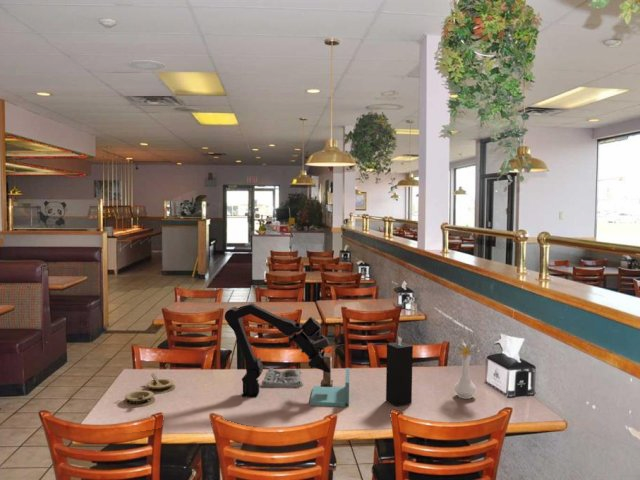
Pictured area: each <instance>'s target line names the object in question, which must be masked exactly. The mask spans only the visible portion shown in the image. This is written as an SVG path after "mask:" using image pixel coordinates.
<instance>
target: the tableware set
mask: <svg viewBox="0 0 640 480" xmlns="http://www.w3.org/2000/svg"><path fill="white" fill-rule="evenodd" d="M151 377H152V380H150V381H148V382H147V383H146V386H145V387H144V390H135V391H131V392H128V393H126V394H125V395H124V399H123V400H120V399H119V400H118V399H117V400H116V401H115V402H113V404H118V403H120V402H121V401H122V402H121V404H122V405H123V406H124V407H127V408H143V407H148V406H149V405H153V404H155V402H156V397H155V396H154V395H157V394H166V393H170V392H173V391H174V390H175V389H176V385H174V381H173V380H172V379H169V378H158V377H157V374H156V373H153V372H152V373H151Z"/></svg>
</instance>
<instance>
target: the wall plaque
mask: <svg viewBox="0 0 640 480" xmlns="http://www.w3.org/2000/svg"><path fill="white" fill-rule="evenodd" d="M301 375H302V371H301V369H300V368H296V369H295V368H294V369H293V368H292V369H291V368H290V369H285V370H282V371H281V370H278V369H274V368H272V367H271V368H268V369H267V372H266V374H265V376H264V379H263V380H262V381H261V387H263V388H275V387H277V388H279V389H280V388H282V389H283V388H285V389H286V388H287V389H291V388H292V389H294V388H295V387H296V388H295V389H299V388H298V387H300V388H303V387H304V383H303V381H302V380H301ZM302 386H303V387H302Z"/></svg>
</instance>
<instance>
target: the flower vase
mask: <svg viewBox="0 0 640 480" xmlns="http://www.w3.org/2000/svg"><path fill="white" fill-rule="evenodd" d="M449 350H451V351H450V353H449V354H450V356H451V359H453V358H454V357H455V356H461V361H462V362H461V363H462V364H461V375H460V378H459V380H458V381H457V382H456V383H455V384H454V386H453V387H454V388H453V391H454V392H455V393H456V394H457V397H458V398H461V399H465V400H469V399H471V398H473V396H474V395H475V394H476V392H477V388H476V385H475V384H474V383H473V381H472V379H471V375H470V361H471V357H472V356H473V355H474V354H476V355H477V356H478V357H479V358H483V357H482V354H481V353H480V352H481V351H480V347H479V345H478V344H477V341H474V344H472V341H471V340H470V339H468V340H467V341H466V343H465V340H464V339H463V338H460V339H459V340H458V339H456V338H455V340H454V342H453V343H452V345H451V346H450V347H449Z"/></svg>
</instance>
